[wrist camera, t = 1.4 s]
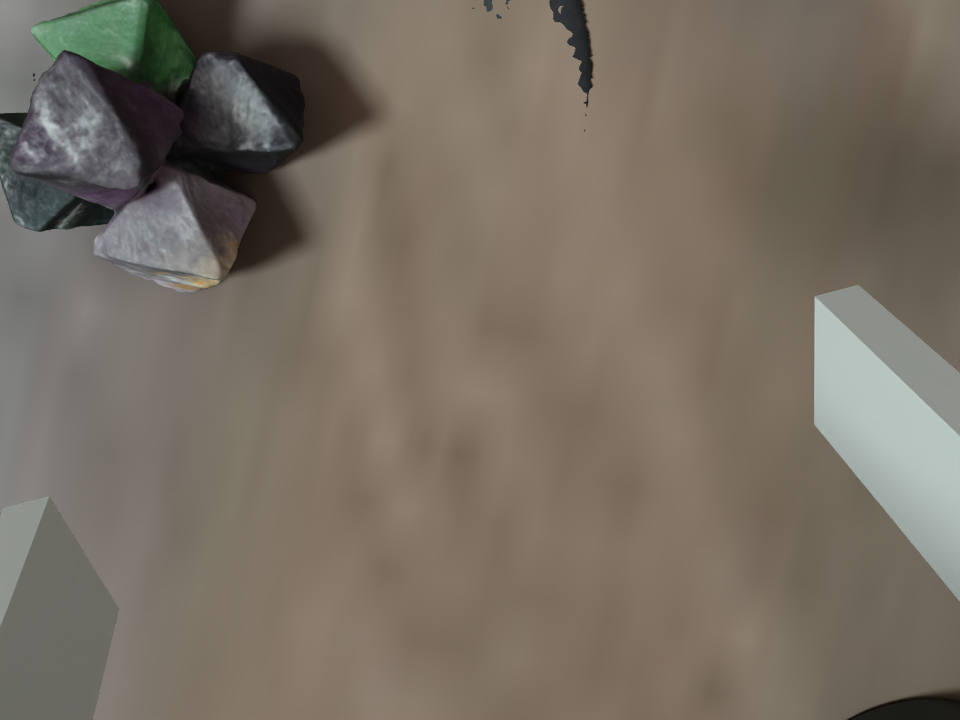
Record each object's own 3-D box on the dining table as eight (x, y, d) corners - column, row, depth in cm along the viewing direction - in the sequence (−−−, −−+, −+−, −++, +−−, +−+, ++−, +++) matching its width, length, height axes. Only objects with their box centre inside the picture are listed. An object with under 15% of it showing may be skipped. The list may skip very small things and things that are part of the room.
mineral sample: (-401, 254, 38) (-641, 291, 29) (-28, -586, 32) (-184, -857, 23) (330, 616, 45) (317, 734, 36) (734, -16, 39) (835, -58, 31)
